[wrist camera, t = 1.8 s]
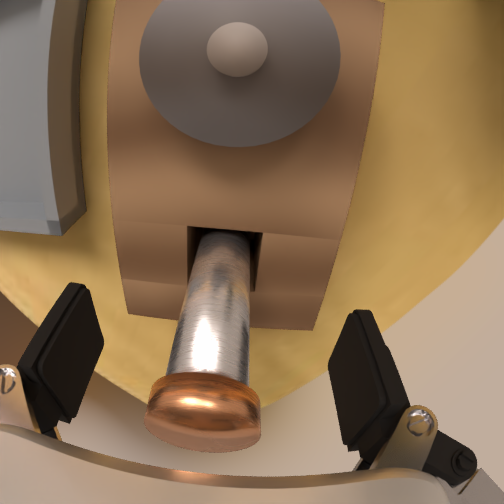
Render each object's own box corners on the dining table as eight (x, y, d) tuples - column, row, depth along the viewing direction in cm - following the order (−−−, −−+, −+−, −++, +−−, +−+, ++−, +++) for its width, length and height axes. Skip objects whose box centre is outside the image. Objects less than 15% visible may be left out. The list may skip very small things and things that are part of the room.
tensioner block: (161, 9, 12) (86, -38, 4) (341, 25, 12) (419, -12, 5) (155, 254, 20) (112, 352, 13) (299, 267, 21) (320, 371, 13)
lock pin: (205, 187, 17) (133, 397, 6) (258, 192, 17) (268, 413, 6) (203, 233, 18) (153, 444, 7) (252, 238, 19) (253, 455, 8)
